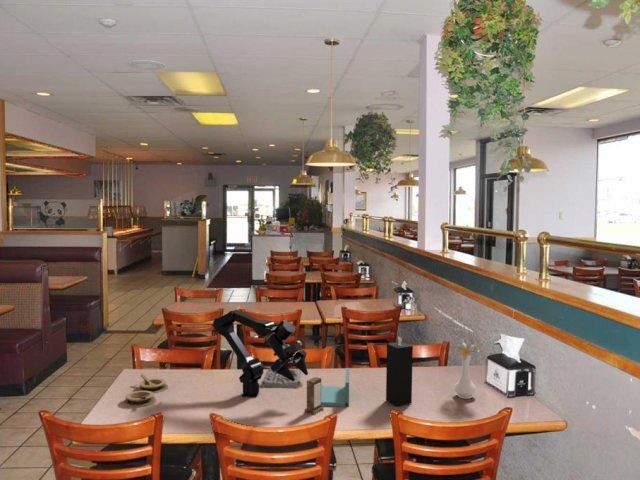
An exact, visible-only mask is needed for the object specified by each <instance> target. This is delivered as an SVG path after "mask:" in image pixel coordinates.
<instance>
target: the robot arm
mask: <svg viewBox="0 0 640 480" xmlns="http://www.w3.org/2000/svg"><path fill="white" fill-rule="evenodd" d="M235 322H237V323H239V324H241V325H243V326H246V327H248V328H250V329H252V330H253V331H254V333H255V334H257V335H258V336H259V337H262V338H264V341H263V342H264V343H263V345H264V346H267V345H269V347H271V349H272V351H273V352H274V353H273V356H274V357H277V359H276V360H275V361H274V362H273V363H272V364H271V365H270V368H271V370H272V372H273V373H274V372H276V373H278V374H277V375H279V374H280V375H282V376H284V377H286V378H288V379H290V380H292V381H294V380H295V379H294V377H293V375H292V373H291V372H290V370H289V369H290V368H289V363H293V364H294V366H295V367H296V369H299V370H300V371H301V373H303V374H304V375H305V376H308V374H309V372H308V368H307V366H306V358H307V355H308V353H307V352H306V350H305V349H303V343H302V342H301V340H297V341H295V342H294V343H293V344H292V345H290V344H289V343H285V341H287V340H288V339H289V338H290V337H291V336H292V335H293V334H294V333H295V331H296V328H295V325H294V324H292V323H291V322H289V321H287V320H286V319H283V320H281V321H280V323H279V324H276V323H275V322H274V321H272V320H269V319H259V318H256V317H254V316H251V315H249V314H247V313H244V312H242V311H240V310H238V309H233V310H230V311H229V312H227V313H226V314H224V315H221V316H219V317H215V318H214V319H213V322H212V327H213V329H214V330H215V331H216V332H217V334H218V335H220V336H222V337H223V338H225V340H226V341H227V343H228V345H229V346H230V347H231V349H232V351H233V353H234V354H235V355H236V358H238V360H239V362H240V363H241V371H242V374H241V375H240V376H239V378H238V379H239V383H242V394H241V397H242V398H245V397H246V398H247V397H248V398H257V397H258V395H259V394H260V383H259V381H260V380H261V379H262V376H263V375H264V370H265V369H264V367H263V366H264V364H263V363H262V362H261V360H260V359H259V358H258V357H256V358H253V357H252V356H251V354H250V353H249V352H248V350H247V348H246V347H245V345H244V344H243V342H242V341H241V339H240V337H239V336H238V335H237V333H236V332H235V325H234V323H235ZM265 337H266V338H265Z"/></svg>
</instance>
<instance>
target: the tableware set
mask: <svg viewBox="0 0 640 480" xmlns="http://www.w3.org/2000/svg"><path fill="white" fill-rule="evenodd" d="M140 377H141V378H142V379H143V380H141V381H140V382H139V384H138V385H139V387H137V391H133V392H128V393H127V394H126V395H125V399H124V400H123V401H122V405H123V406H124V407H127V408H133V409H134V408H136V409H137V408H138V409H139V408H145V407H149V406H151V405H153V404H155V403H156V401H157V398H156V397H155V394H157V393H162V392H164V391H166V390H168V389H169V385H168V384H167V381H166V380H165V379H162V378H148V377H147V376H146V375H145V374H144V373H141V374H140ZM163 402H164V401H160V402H158V404H156V405H155V406H154V408H159V407H161V404H163Z"/></svg>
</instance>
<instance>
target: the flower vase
mask: <svg viewBox="0 0 640 480" xmlns="http://www.w3.org/2000/svg"><path fill="white" fill-rule="evenodd" d="M449 350H451V351H450V353H449V354H450V356H451V359H453V358H454V357H455V356H461V361H462V362H461V363H462V364H461V375H460V378H459V380H458V381H457V382H456V383H455V384H454V386H453V387H454V388H453V391H454V392H455V393H456V394H457V397H458V398H461V399H465V400H469V399H471V398H473V396H474V395H475V394H476V392H477V388H476V385H475V384H474V383H473V381H472V379H471V376H470V361H471V357H472V356H473V355H474V354H476V355H477V356H478V357H479V358H483V357H482V354H481V353H480V352H481V351H480V347H479V345H478V344H477V341H474V344H472V341H471V340H470V339H468V340H467V341H466V343H465V340H464V339H463V338H460V339H459V340H458V339H456V338H455V340H454V342H453V343H452V345H451V346H450V347H449Z"/></svg>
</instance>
